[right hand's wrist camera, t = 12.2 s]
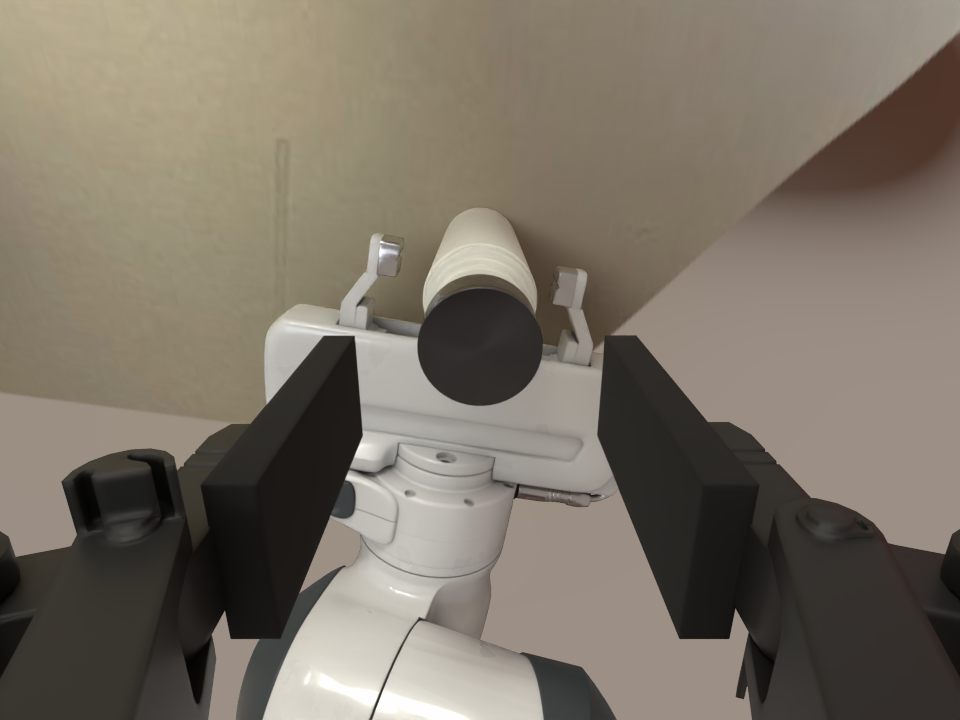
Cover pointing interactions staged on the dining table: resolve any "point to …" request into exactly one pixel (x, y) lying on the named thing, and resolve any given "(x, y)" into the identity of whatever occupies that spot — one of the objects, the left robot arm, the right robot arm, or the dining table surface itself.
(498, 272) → the bottle
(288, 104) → the dining table surface
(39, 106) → the dining table surface
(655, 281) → the dining table surface
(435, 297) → the cap
